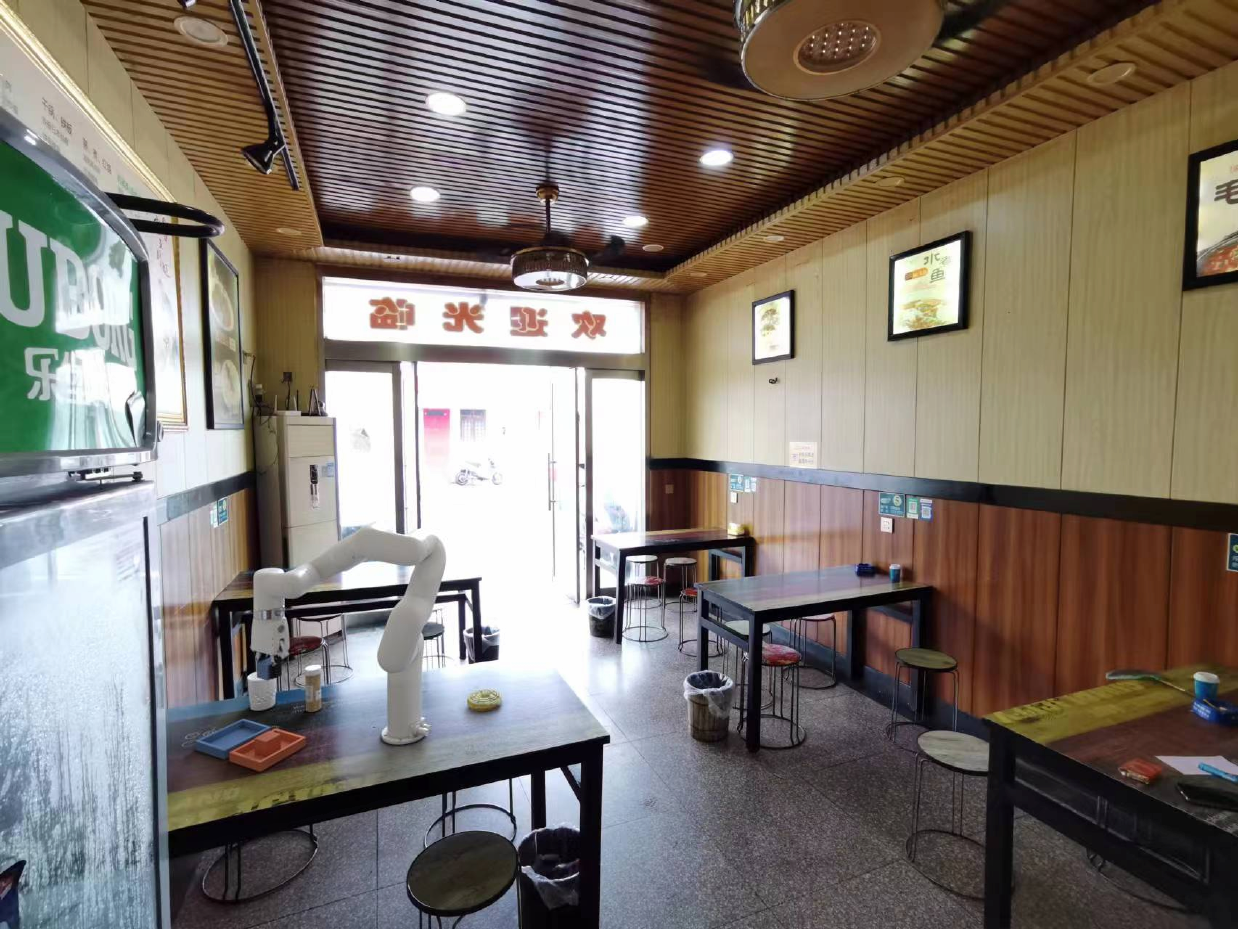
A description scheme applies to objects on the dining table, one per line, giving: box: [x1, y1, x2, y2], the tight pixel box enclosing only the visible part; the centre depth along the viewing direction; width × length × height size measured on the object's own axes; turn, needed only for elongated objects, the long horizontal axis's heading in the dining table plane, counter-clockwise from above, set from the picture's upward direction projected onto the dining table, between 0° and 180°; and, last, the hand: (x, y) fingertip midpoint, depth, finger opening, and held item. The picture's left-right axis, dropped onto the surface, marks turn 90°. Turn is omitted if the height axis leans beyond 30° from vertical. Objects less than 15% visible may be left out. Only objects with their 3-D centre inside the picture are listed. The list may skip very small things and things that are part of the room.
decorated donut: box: [466, 689, 503, 712], centre depth 191 cm, size 10×11×4 cm
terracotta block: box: [254, 730, 281, 757], centre depth 161 cm, size 4×4×4 cm
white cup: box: [246, 671, 277, 712], centre depth 187 cm, size 8×8×10 cm
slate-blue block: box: [256, 656, 277, 681], centre depth 169 cm, size 4×4×4 cm
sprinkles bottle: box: [304, 664, 323, 713], centre depth 186 cm, size 5×5×13 cm
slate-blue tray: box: [194, 718, 272, 760], centre depth 166 cm, size 12×14×2 cm
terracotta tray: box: [228, 728, 307, 773], centre depth 161 cm, size 12×14×2 cm
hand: (269, 675), depth 169 cm, fingers closed on slate-blue block, 4 cm apart
